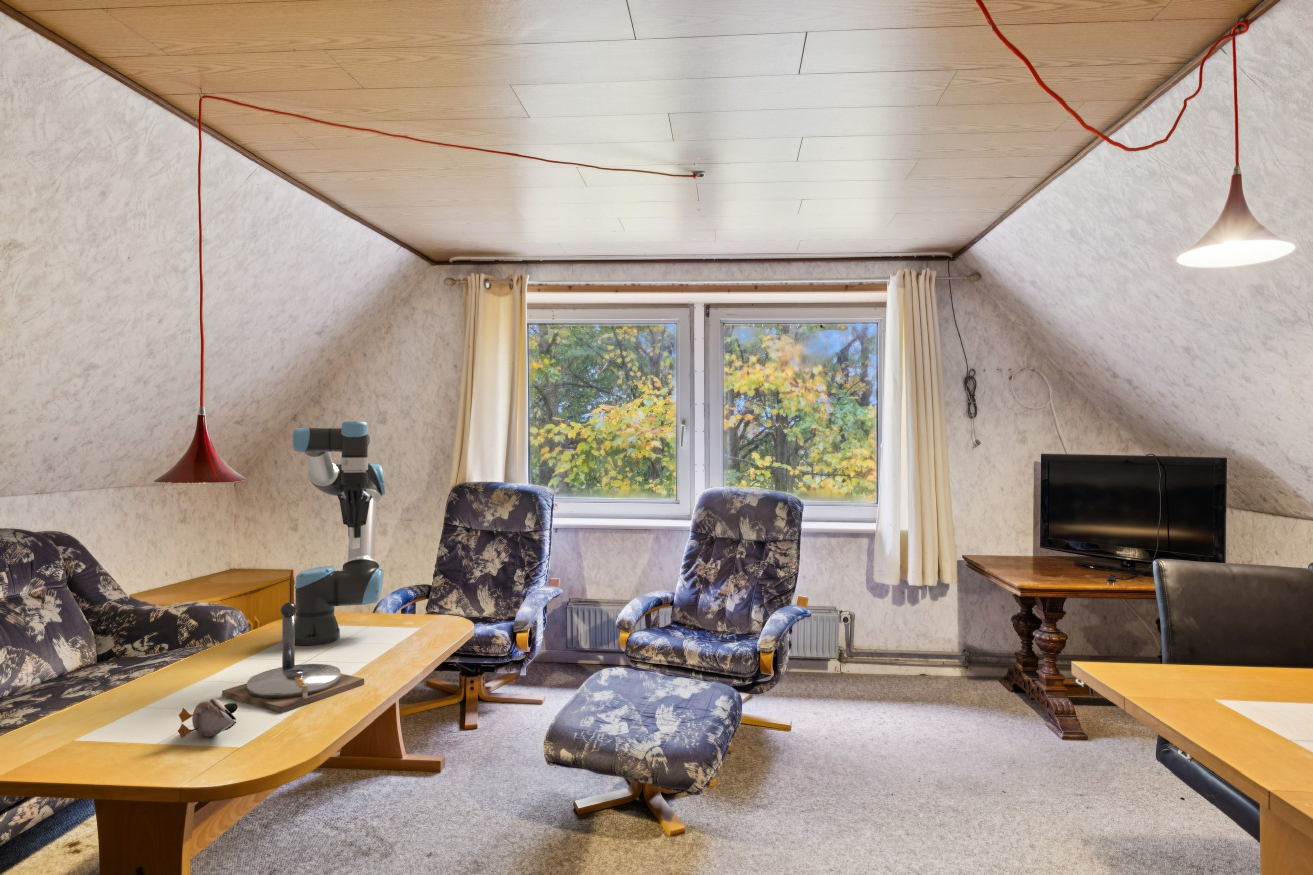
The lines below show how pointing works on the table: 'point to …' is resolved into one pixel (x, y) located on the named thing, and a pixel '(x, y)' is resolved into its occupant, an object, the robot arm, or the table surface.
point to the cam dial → (292, 668)
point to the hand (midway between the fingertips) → (354, 548)
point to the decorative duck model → (209, 718)
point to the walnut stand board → (292, 702)
